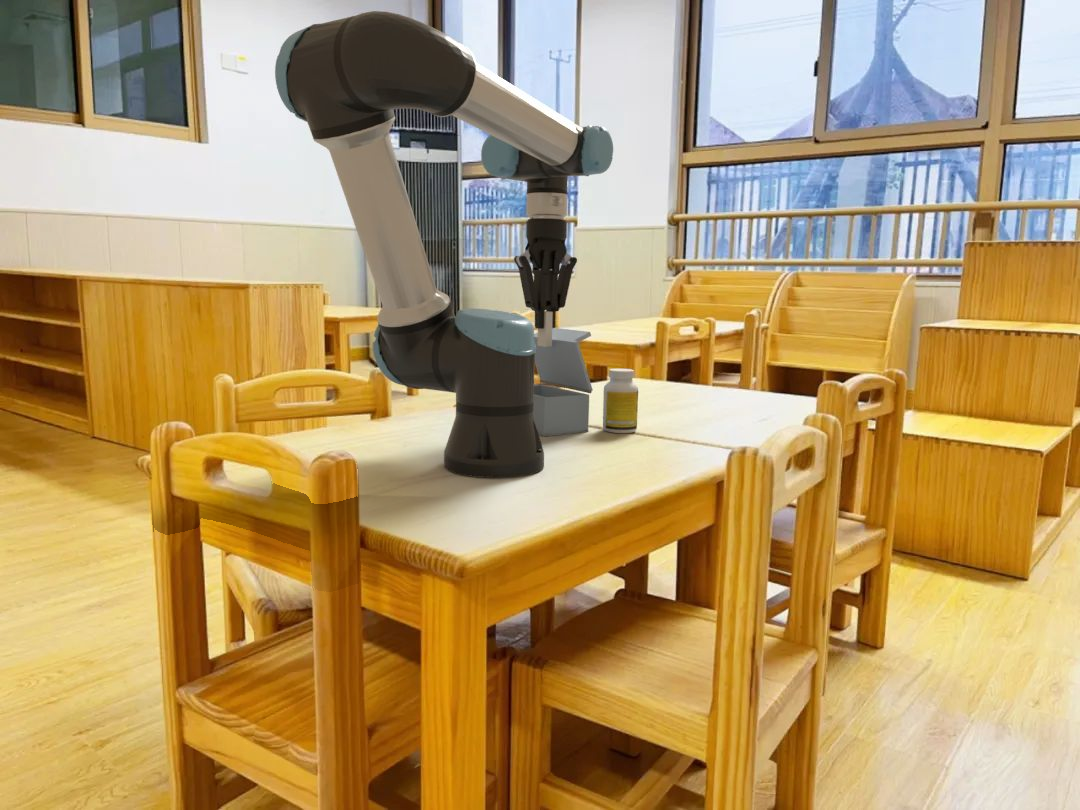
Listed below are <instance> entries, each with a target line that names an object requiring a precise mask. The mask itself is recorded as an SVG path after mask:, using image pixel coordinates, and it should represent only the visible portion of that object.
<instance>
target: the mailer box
mask: <svg viewBox="0 0 1080 810" xmlns="http://www.w3.org/2000/svg"><path fill="white" fill-rule="evenodd" d="M589 412H590V394H589V393H585V392H580V391H576V390H571V389H566V388H562V387H557V386H553V385H548V384H544V383H541V384H534V404H533V416H534V421H535V424H536V428H537V431H538V434H539V437H540V436H541V437H544V438H545V437H551V436H552V437H554V436H561V435H562V436H563V435H570V434H571V435H572V434H579V433H587V432H589V423H590V422H589V419H590V418H589V416H590V413H589Z"/></svg>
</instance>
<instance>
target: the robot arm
mask: <svg viewBox="0 0 1080 810" xmlns="http://www.w3.org/2000/svg"><path fill="white" fill-rule="evenodd" d="M274 67H275V69H274V77H275V79H274V80H275V84H276V89H277V91H278V95H279V97H280V99H281V101H282V103H283V105H284V106H285V108H286V109H287V110H288V111H289V112H290V113H292V114H294V116H295V117H296V118H298V119H299V120H302V121H304V122H306V123H307V125H308V128H309V131H310V134H311V136H312V140H313V141H314V142H315V143H317V144H319V145H321V146H322V147H324V148H326V149H327V150H328V151H329V153H330V156H331V157H330V158H331V160H332V163H333V166H334V169H335V171H336V175H337V176H338V180H339V183H340V185H341V188H342V192H343V194H344V198H345V200H346V203H347V207H348V209H349V212H350V215H351V217H352V221H353V224H354V226H355V230H356V233H357V235H358V238H359V242H360V244H361V247H362V249H363V252H364V255H365V259H366V261H367V265H368V268H369V271H370V273H371V276H372V279H373V282H374V284H375V288H376V290H377V293H378V297H379V300H380V302H381V305H382V307H381V309H380V310H379V312H378V314H377V316H376V320H377V321H376V322H377V326H376V328H375V330H374V334H373V336H374V338H375V339H374V341H373V342H372V352H373V357H374V361H375V363H376V365H377V368H379V370H380V371H381V373H382V374H383V375H384V376H385V377H386V378H387V379H388V380H390V381H391V382H393V383H394V384H397V385H401V386H404V387H406V388H411V389H413V390H429V391H430V390H433V391H440V392H448V393H454V394H455V418H454V421H453V424H452V427H451V430H450V433H449V435H448V439H447V442H446V446H445V448H444V451H443V467H444V469H446V470H448V471H449V472H451V473H455V474H458V475H461V476H462V475H463V476H468V477H469V476H470V477H477V478H478V477H479V478H513V477H521V476H527V475H528V476H529V475H532V474H536V473H538V472H541V471H542V470H543V469H544V468H545V451H544V448H543V444H542V441H541V438H540V435H539V434H538V431H537V428H536V424H535V421H534V416H533V404H534V385H535V351H536V346H535V341H534V334H535V329H537V332H538V346H544V347H551V346H552V328H556V318H557V316H556V314H557V312H559V311H560V309H561V308H562V309H563V308H564V307H566V301H567V298H568V293H569V288H570V283H571V278H572V275H573V269H574V268H575V266H576V265H577V262H578V258H577V257H576V256H575V257H574V256H571V254H569V253H568V249H567V245H566V243H565V242H566V240H567V238H568V236H567V235H568V232H567V231H568V222H567V220H566V219H565V218H566V217H567V216H568V179H569V178H570V177H583V176H584V177H589V176H592V175H600V174H603V173H605V172H607V170H608V169H610V167H611V164H612V161H613V155H614V144H613V143H614V142H613V139H612V136H611V133H609V131H608V129H607V128H605V127H604V126H601V125H591V124H589V125H587V126H580V125H578V124H576V123H574V122H573V121H571V120H570V119H568V118H567V117H564V116H563V115H561V114H560V113H559V112H556V111H555V110H553V109H552V108H550V107H548V106H547V105H545V104H544V103H542V102H540V101H539V100H537V99H535V98H534V97H532V96H531V95H529V94H527V92H524V91H523V90H521V89H519V88H518V87H517V86H514V85H513V84H511V83H510V82H508V81H507V80H505V79H503V78H502V77H500V76H499V75H497V74H496V73H494V72H492V71H490V70H489V69H487V68H486V67H484V66H482V64H481V65H480V63H478V62H477V61H476V57H475V55H474V54H473V52H472V51H471V49H470V48H469V47H468V46H466V45H465V44H462V43H461V42H460V41H458V40H457V39H454V38H453V37H451V36H449V34H446V33H444V32H443V31H440V30H438V29H437V28H434V27H432V26H430V25H428V24H426V23H423V22H421V21H419V20H416V19H414V18H412V17H409V16H407V15H406V16H405V15H403V14H399V13H395V12H388V11H381V10H379V11H378V10H372V11H367V12H362V13H359V14H356V15H352V16H347V17H344V18H339V19H335V20H330V21H327V22H321V23H313V24H311V25H310V26H307V27H304V28H303V29H300V30H297V31H295V32H293V33H292V34H291V35H289V36H288V37H287V38H286V39H285V40H284V41H283V43H282V44H281V47H280V49H279V53H278V55H277V56H276V60H275V66H274ZM402 109H407V110H409V109H410V110H411V109H412V110H421V111H424V112H427V113H429V114H431V115H433V116H435V117H439V118H446V117H449V116H451V117H455V118H456V119H458V120H461V121H462V122H465V123H466V124H468V125H470V126H472V127H474V128H477V129H478V130H480V131H482V132H484V133H486V134H488V136H487V137H486V138H485V140H484V141H483V143H482V146H481V150H480V151H481V154H480V157H481V159H480V160H481V163H482V167H483V168H484V170H485V171H486V172H487V173H488V174H489V175H490V176H493V177H496V178H499V179H501V180H511V181H519V182H525V183H526V210H525V213H526V214H525V215H526V216H527V217H529V219H527V220H526V226H525V227H526V229H525V232H526V233H525V236H526V237H525V238H526V240H527V243H526V246H525V247H524V248H525V249H524V252H522V253H521V254H519V255H515V256H514V258H513V260H514V263H515V265H516V267H517V268H518V272H519V277H520V278H519V279H520V284H521V288H522V292H523V293H522V294H523V299H524V304H525V307H526V308H529V309H531V310H532V311H533V312H534V325H533V323H532V321H531V320H530V319H528V318H527V317H526V316H523V315H521V314H520V315H519V314H517V313H513V312H508V311H503V310H502V311H500V310H493V309H486V308H462V309H459V310H458V311H457V312H456V315H455V313H454V308H453V305H452V302H451V299H450V296H449V295H447V293H445V292H442V291H441V290H438V289H437V287H436V284H435V280H434V277H433V274H432V270H431V266H430V263H429V260H428V257H427V254H426V253H427V252H426V251H425V248H424V247H425V246H424V244H423V240H422V237H421V235H420V231H419V227H418V225H417V221H416V218H415V214H414V212H413V209H412V205H411V202H410V201H411V200H410V199H409V195H408V191H407V189H406V188H407V187H406V185H405V181H404V179H403V176H402V173H401V169H400V166H399V163H398V159H397V156H396V152H395V150H394V146H393V143H392V140H391V135H390V130H391V129H392V126H393V124H394V122H395V120H396V115H395V112H394V111H395V110H402ZM568 177H569V178H568ZM531 264H532V266H531Z"/></svg>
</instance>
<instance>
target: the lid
mask: <svg viewBox="0 0 1080 810" xmlns="http://www.w3.org/2000/svg"><path fill="white" fill-rule="evenodd" d="M590 337H592V333H591V332H590V331H585V330H577V329H568V328H559V327H555V328H552V346H551V347H544V346H538V331H537V332H534V341H535V346H536V351H535V362H534V366H535V367H536V370H537V373H538V376H539V383H541V384H544V385H548V386H553V387H558V388H562V389H567V390H571V391H576V392H581V393H585V394H591V393H592V391H593V387H592V383H591V380H590V377H589V373H588V370H587V367H586V363H585V360H584V357H583V354H582V350H581V347H580V342H582V341H584V340H586V339H588V338H590Z"/></svg>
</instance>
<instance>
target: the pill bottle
mask: <svg viewBox="0 0 1080 810" xmlns="http://www.w3.org/2000/svg"><path fill="white" fill-rule="evenodd" d="M608 377H609V381H608V382H606V384H605V385H604V386H603V404H602V405H603V406H602V407H603V408H602V410H603V411H602V415H603V416H602V428H603V430H604V431H606V432H608V433H612V434H613V433H614V434H629V433H630V434H631V433H635V431H637V430H638V410H639V409H638V406H639V405H638V403H639V386H638V385H637V384H636V383H635V382H634V381H633V378H635V370H634V369H631V368H610V369H609V370H608Z"/></svg>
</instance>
